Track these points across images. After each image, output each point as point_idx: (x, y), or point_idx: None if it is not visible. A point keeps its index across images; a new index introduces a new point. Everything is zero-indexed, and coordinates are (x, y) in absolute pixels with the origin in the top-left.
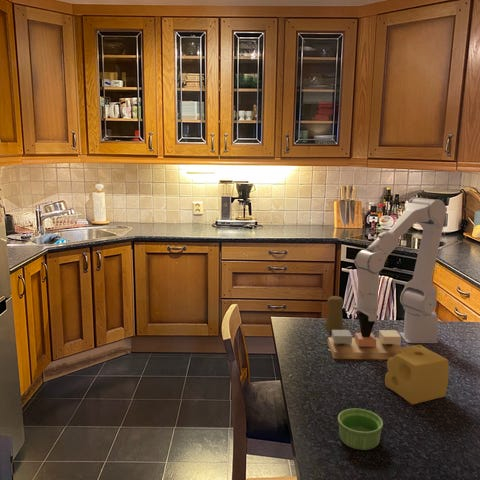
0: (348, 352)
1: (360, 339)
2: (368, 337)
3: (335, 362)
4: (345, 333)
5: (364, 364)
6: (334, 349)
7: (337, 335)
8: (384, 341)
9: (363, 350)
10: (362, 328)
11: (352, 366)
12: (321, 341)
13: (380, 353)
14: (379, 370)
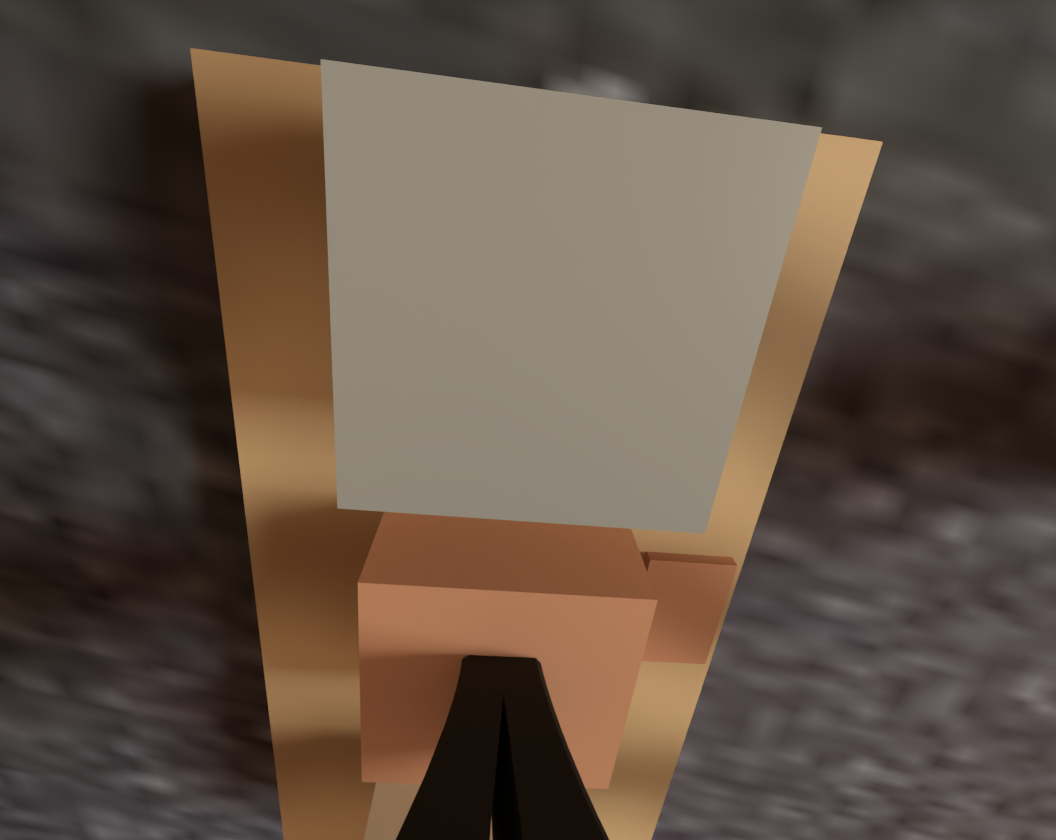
0: (225, 317)
1: (358, 602)
2: (442, 717)
3: (119, 64)
4: (507, 418)
5: (134, 444)
6: (320, 96)
7: (373, 172)
8: (369, 822)
9: (314, 532)
10: (413, 817)
11: (36, 286)
12: (927, 58)
13: (267, 672)
14: (9, 545)
